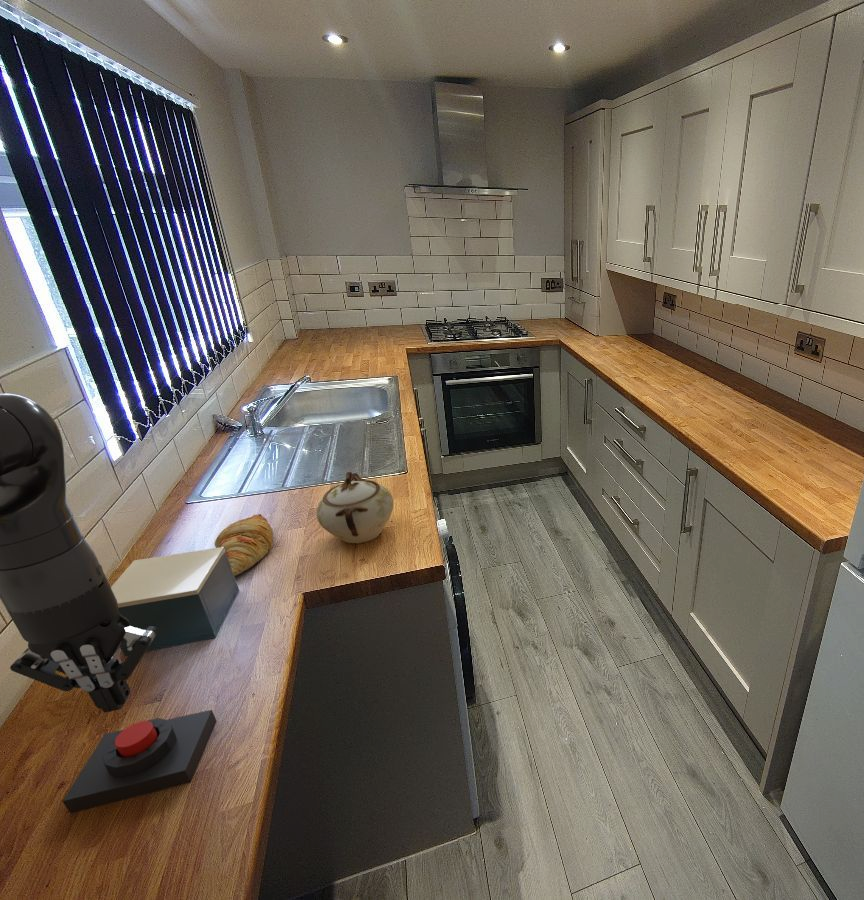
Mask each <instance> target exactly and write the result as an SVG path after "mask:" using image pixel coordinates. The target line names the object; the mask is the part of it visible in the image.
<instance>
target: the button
mask: <svg viewBox="0 0 864 900" xmlns="http://www.w3.org/2000/svg"><path fill="white" fill-rule="evenodd" d="M122 730H123V731H122V732H121V733H120V734H119V735H118V736H117V738H116V739H115V746H116V747H117V749H118V751H119V753H120V755H121V756H123V757H131V756H135V755H137V754H139V753H141V752H142V751H144V750H146V749H148V748H149V747H150V746H151V745H152V744H153V743H154V742H155V741H156V739H157V732H156V730H155V728H154V726H153V724H152V723H151V722H149V721H147V720H142V721H138V722H135V723H132V724H131V725H129V726H127V727H125V728H124V729H122Z"/></svg>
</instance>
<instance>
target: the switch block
mask: <svg viewBox="0 0 864 900" xmlns="http://www.w3.org/2000/svg"><path fill="white" fill-rule="evenodd" d="M146 721H149V722H151V723H152V724H153V726H154V728H155V730H156V732H157V739H156V741H155V742H154V743H153V744H152V745H151V746H150V747H149V748H148V749H146V750H144V751H142V752H141V753H139V754H137V755H135V756H131V757H123V756H121V755H120V753H119V751H118V749H117V747H116V746H115V739H116V738H117V736H118V735H119V734H120V733H121V732H122V731H123V730H124V729H121V730H116V731H111V732H108V733H104V734H103V736H102V737H101V739H100V740H99V742H98V744H97V745H96V747H95V749H94V750H93V752H92V753H91V755H90V757H89V758H88V760H87V761H86V763H85V765H84V766H83V768H82V769H81V771H80V772H79V774H78V775H77V776H76V779H75V780H74V782H73V784H72V785H71V787H70V789H69V790H68V791H67V793H66V795H65V796H64V798H63V799H62V803H63V805H64V806H65V808H66V809H67V811H68V812H69V814H73V813H78V812H81V811H85V810H89V809H93V808H97V807H101V806H105V805H108V804H109V805H110V804H113V803H116V802H120V801H123V800H124V801H125V800H128V799H132V798H136V797H140V796H143V795H148V794H152V793H156V792H159V791H164V790H167V789H170V788H171V789H172V788H175V787H179V786H183V785H187V784H190V783H192V781H193V779H194V776H195V773H196V771H197V769H198V767H199V764H200V761H201V759H202V757H203V755H204V752H205V751H206V750H205V749H206V747H207V745H208V742H209V741H210V737H211V735H212V733H213V732H214V731H213V730H214V728H215V726H216V723H217V719H216V717H215V714H214V711H213V710H212V709H209V710H204V711H200V712H196V713H195V712H194V713H192V714H191V713H190V714H187V715H183V716H177V717H174V718H169V719H164V718H159V717H157V718H153V719H152V718H151V719H148V720H146Z"/></svg>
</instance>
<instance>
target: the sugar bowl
mask: <svg viewBox="0 0 864 900" xmlns="http://www.w3.org/2000/svg"><path fill="white" fill-rule="evenodd" d="M393 509H394V498H393V496H392V494H391V492H390V491H389V490H388V488H386V487H385V486H384V485H382V484H380V483H378V482H377V481H374V480H370V479H363V478H361V477H360V475H359V473H357V472H352V471H348V472H346V474H345V480H344V481H343V483H341V484H338V485H335V486H334V487H333V486H332V487H331V488H330V489H328V491H326V492H325V493H324V494H323V496H322V498H321V499H320V501H319V502H318V505H317V507H316V519H317V522H318V523H319V525H320V527H322V529H323V530H325V531H326V532H328V533H329V534H331V535H333V537H336V538H338V539H340V540H341V541H342V542H344V543H346V544H351V543H356V544H362V542H363V543H367V542H370V541H373V540H375V539H376V538H377V537H378V536H380V535H381V534H382V532H383V530H384V528H385V526H386V525H387V523H388V521H389V519H390V518H391V515H392V512H393V511H394V510H393ZM380 533H381V534H380ZM379 534H380V535H379Z"/></svg>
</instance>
